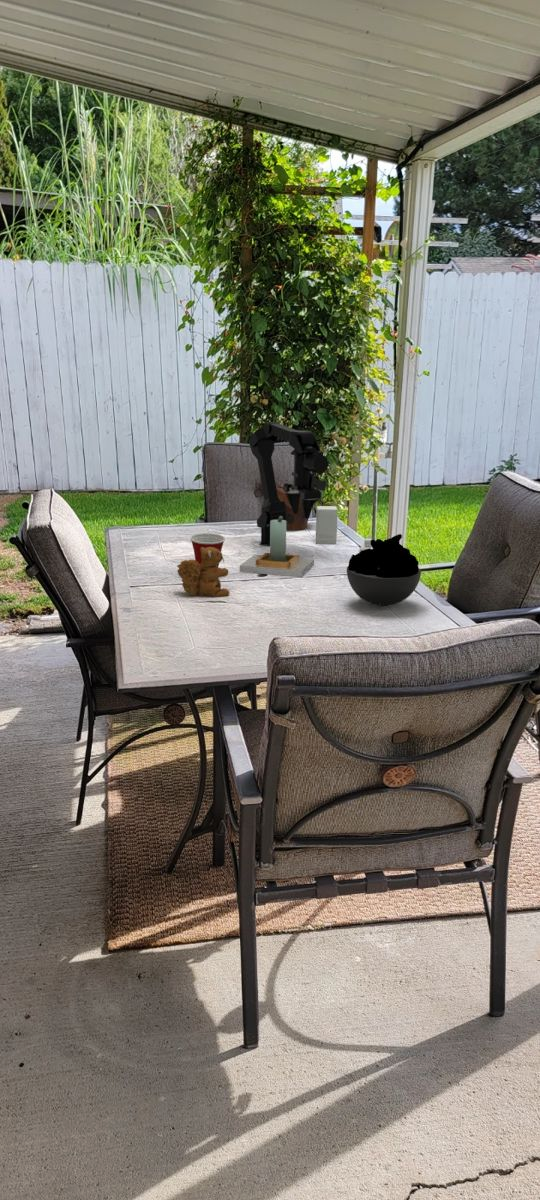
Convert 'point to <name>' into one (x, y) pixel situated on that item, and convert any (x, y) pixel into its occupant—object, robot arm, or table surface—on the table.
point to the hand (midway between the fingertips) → (301, 516)
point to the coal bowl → (384, 572)
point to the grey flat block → (277, 565)
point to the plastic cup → (206, 543)
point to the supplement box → (326, 524)
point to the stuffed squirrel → (203, 574)
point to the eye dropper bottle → (366, 544)
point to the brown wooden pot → (292, 519)
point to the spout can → (278, 540)
